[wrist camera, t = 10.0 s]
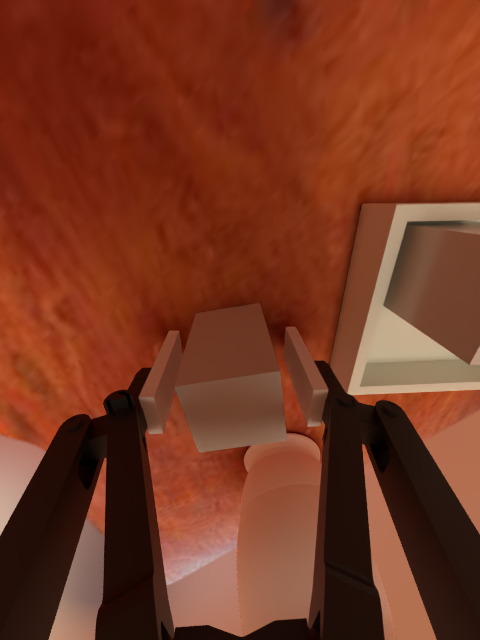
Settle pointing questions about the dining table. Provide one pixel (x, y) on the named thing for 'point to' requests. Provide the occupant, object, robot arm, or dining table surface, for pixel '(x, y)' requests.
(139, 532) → the robot arm
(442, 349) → the bin
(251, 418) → the grey rectangular block
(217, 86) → the dining table surface
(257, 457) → the jar
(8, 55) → the dining table surface
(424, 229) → the tall grey rectangular prism
